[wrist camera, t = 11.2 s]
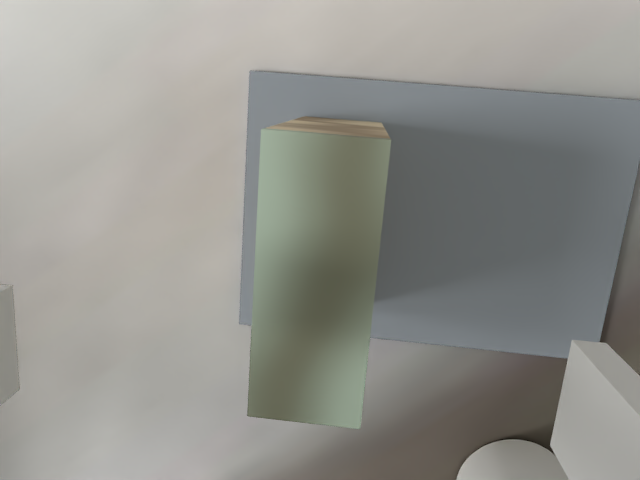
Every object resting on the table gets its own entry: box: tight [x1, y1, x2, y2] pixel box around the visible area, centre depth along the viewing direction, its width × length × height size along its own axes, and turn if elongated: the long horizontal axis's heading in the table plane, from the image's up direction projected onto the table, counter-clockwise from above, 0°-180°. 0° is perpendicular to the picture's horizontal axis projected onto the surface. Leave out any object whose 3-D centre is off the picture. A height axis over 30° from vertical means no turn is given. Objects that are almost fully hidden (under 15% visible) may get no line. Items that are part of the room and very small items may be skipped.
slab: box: [247, 116, 391, 429], centre depth 24 cm, size 4×10×12 cm, turn 176°
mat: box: [239, 71, 640, 359], centre depth 30 cm, size 20×14×1 cm
